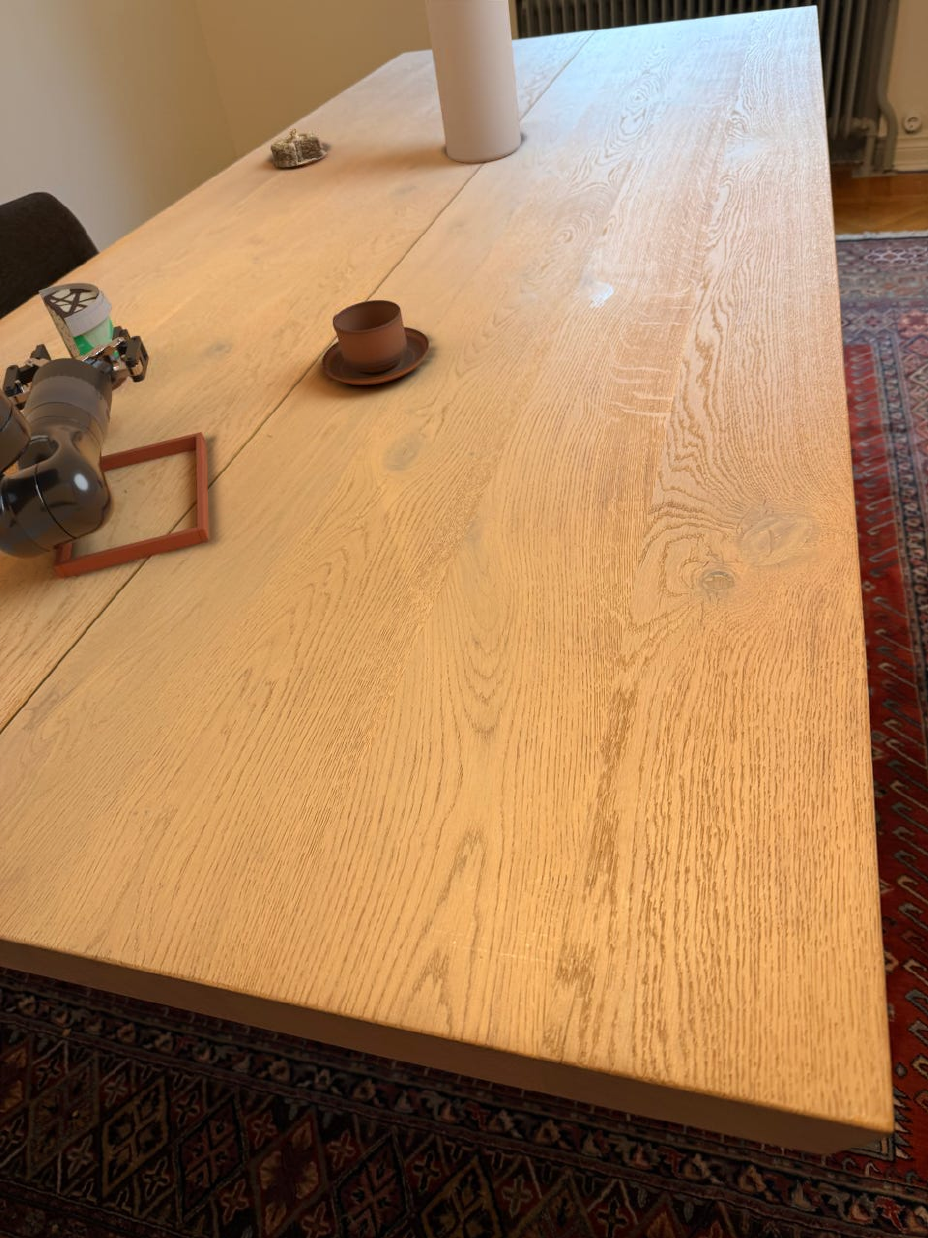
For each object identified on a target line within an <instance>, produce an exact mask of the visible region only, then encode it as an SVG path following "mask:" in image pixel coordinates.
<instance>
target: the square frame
mask: <svg viewBox="0 0 928 1238" xmlns="http://www.w3.org/2000/svg"><path fill="white" fill-rule="evenodd" d="M193 450H196V451H195V453H196V454H195V455H196V456H195V457H196V461H195V462H196V463H195V464H196V512H197V513H196V521H197V522H196V526H195V527H192V528H190V527H189V528H187V529H182V530H178V531H175V532H171V533H167V534H163V535H158V536H156V537H155V536H154V537H152V538H147V539H143V540H139V541H135V542H132V543H128V544H127V543H126V544H124V545H120V546H115V547H112V548H108V549H104V550H100V551H96V552H92V553H88V554H84V555H81V556H76V557H73V558H71V555H72V554H71V553H72V548H73V543H70V544H68V545H66V546H64V547H61V548H59V549H57V550H55V556H54V562H53V569H54V571H55V572H56V574H57V576H58V577H59V579H60V580H62V579H65V578H69V577H74V576H78V575H81V574H86V573H89V572H93V571H97V570H100V569H105V568H109V567H112V566H116V565H120V564H125V563H128V562H132V561H137V560H141V559H145V558H148V557H151V556H155V555H160V554H163V553H167V552H172V551H175V550H178V549H183V548H187V547H191V546H195V545H199V544H203V543H207V542H209V541H210V524H209V522H210V520H209V519H210V518H209V493H208V490H209V489H208V457H207V453H208V452H207V442H206V439H205V436H204V434H203V432H202V431H199V432H196V433H195V432H194V433H191V434H188V435H183V436H179V437H175V438H172V439H168V440H163V441H158V442H155V443H152V444H151V443H150V444H146V445H143V446H139V447H135V448H131V449H125V450H123V451H118V452H114V453H110V454H106V455H101V463H102V467H103V470H104V472H107V471H111V470H116V469H119V468H123V467H128V466H132V465H136V464H140V463H144V462H148V461H151V460H152V461H153V460H155V459H161V458H164V457H168V456H173V455H176V454H180V453H184V452H189V451H193Z"/></svg>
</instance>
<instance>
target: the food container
mask: <svg viewBox="0 0 928 1238" xmlns="http://www.w3.org/2000/svg"><path fill="white" fill-rule="evenodd" d="M38 293H39V295H40V297H41V300H42V302H43V305H44V306H45V308H46V309H47V311H48V313H49V316H50V317H51V319H52V321H53V324H54V325H55V328H56V330H57V332H58V334H59V336H60V338H61V340H62V342H63V344H64V346H65V348H66V350H67V352H68V354H69V356H70V358H73V359H76V358H77V357H79V356H80V355H85V354H87V353H88V352H90V351H91V350H92V349H94V348H95V347H97V346H98V345H107V344H109V343H110V342H111V341H112V336H113V330H114V327H115V326H114V324H113V322H112V319H111V316H110V314H111V313H112V310H113V305H112V303H111V302H110V300H109V298H107V296H106V294H105V293H104V292H103V290H101V289H100V288H99V287H98V286H97V285H95V284H93V283H90V282H69V283H63V284H57V285H54V286H50V287H47V288H43V289H41V290H38ZM114 355H115V357H116V359H119V358H120V357H119V354H118V352H117V350H116V351H115V352H114ZM98 359H100V360H102V361H103V359H102V357H99V358H98ZM127 379H128V377H124V378H119V379H118V381H117V383H116V384H115V385H114V386H113V387H112V392H113V391H114V390H116V389H117V388H119V387H120V386H122V384H124V382H126V381H127Z"/></svg>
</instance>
